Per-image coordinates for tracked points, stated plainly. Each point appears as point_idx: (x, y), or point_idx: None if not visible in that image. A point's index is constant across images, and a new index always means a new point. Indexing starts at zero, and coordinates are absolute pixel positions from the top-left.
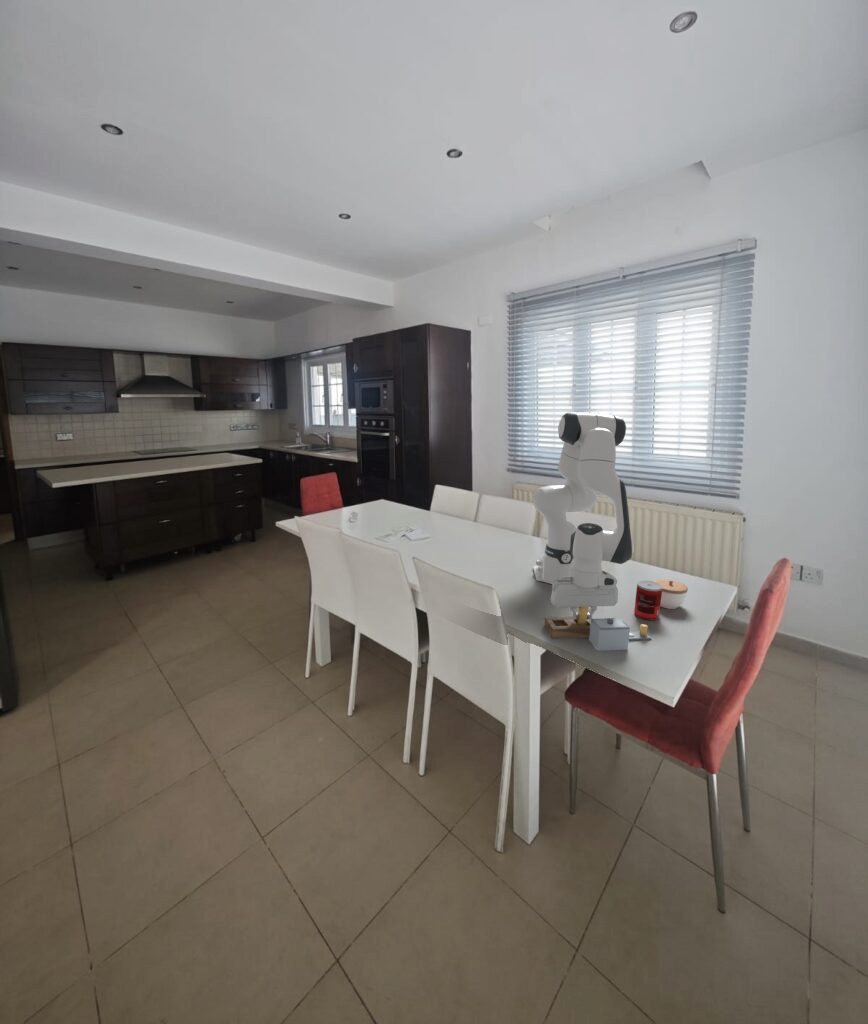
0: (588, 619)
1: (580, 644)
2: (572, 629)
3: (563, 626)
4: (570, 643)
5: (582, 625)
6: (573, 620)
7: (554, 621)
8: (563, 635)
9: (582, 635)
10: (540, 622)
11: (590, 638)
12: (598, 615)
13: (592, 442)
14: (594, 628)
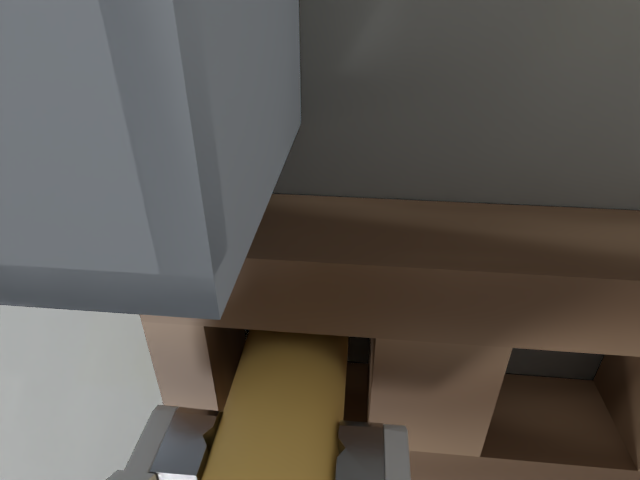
0: None
1: (465, 29)
2: (506, 267)
3: (601, 341)
4: (589, 72)
5: (317, 328)
6: None
7: (592, 451)
8: (605, 227)
9: (350, 208)
10: None
11: (293, 98)
12: (77, 473)
13: None
14: (233, 25)
